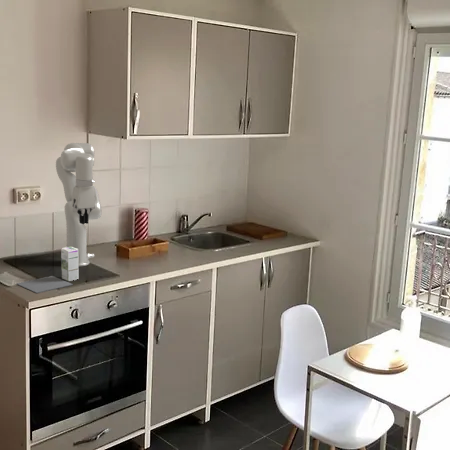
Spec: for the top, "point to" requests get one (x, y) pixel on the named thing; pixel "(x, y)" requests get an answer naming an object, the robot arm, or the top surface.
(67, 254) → the syrup box
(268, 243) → the top surface
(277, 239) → the top surface
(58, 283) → the mat
